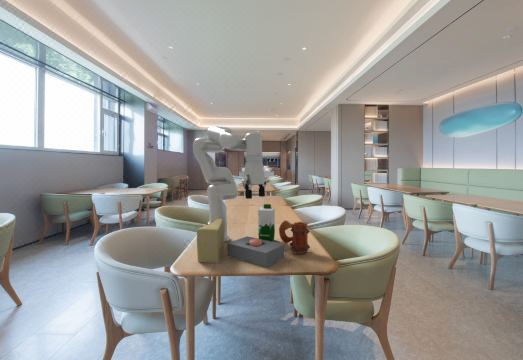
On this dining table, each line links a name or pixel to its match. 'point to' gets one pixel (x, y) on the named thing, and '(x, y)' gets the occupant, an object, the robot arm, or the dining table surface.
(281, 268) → the dining table surface
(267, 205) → the milk carton
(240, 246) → the box
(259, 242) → the call button
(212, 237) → the cheese
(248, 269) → the dining table surface
